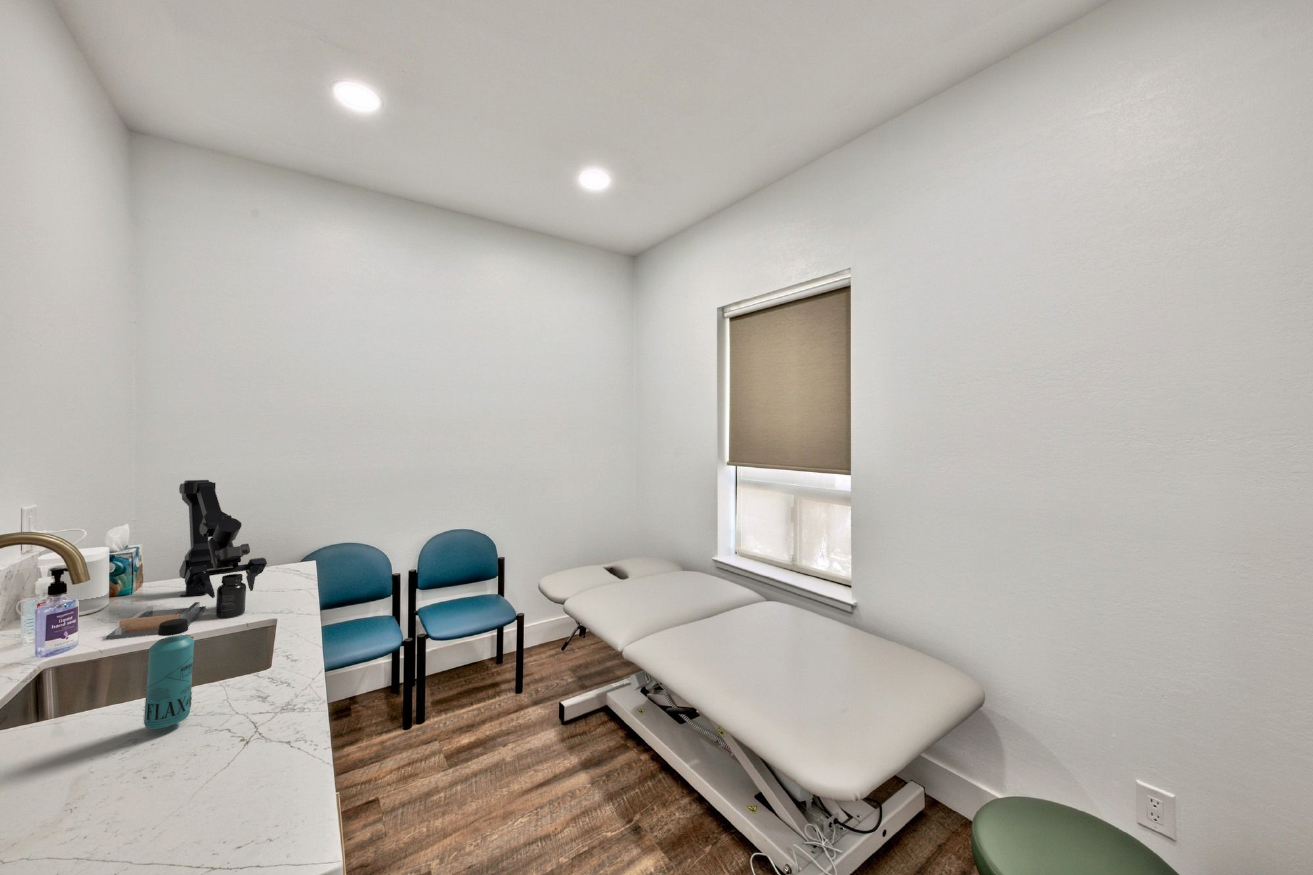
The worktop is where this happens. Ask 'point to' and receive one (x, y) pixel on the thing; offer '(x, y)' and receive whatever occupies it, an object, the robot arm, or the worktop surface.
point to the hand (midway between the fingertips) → (233, 593)
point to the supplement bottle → (231, 596)
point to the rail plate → (153, 621)
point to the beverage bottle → (169, 676)
